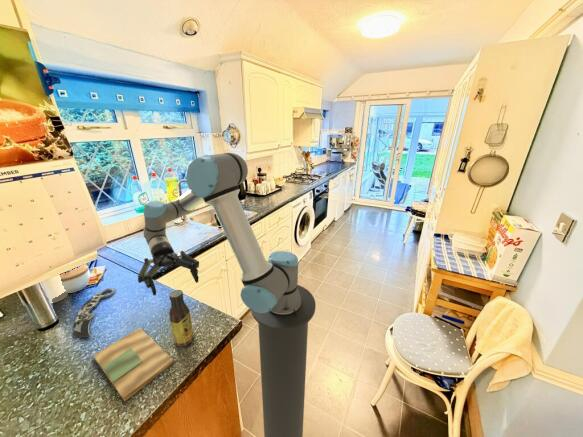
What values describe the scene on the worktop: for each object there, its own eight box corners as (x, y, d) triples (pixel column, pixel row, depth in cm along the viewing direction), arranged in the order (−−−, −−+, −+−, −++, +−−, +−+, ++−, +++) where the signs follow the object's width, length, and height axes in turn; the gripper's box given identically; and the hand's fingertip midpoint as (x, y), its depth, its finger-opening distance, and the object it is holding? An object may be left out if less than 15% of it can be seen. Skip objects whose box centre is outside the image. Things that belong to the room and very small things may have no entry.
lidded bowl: (78, 297, 102) (69, 275, 98) (49, 296, 102) (39, 275, 98) (100, 279, 114) (93, 260, 110) (74, 279, 114) (66, 259, 110)
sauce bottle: (190, 347, 80) (181, 300, 72) (171, 348, 79) (160, 301, 72) (196, 332, 86) (188, 287, 78) (179, 332, 85) (169, 287, 78)
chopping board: (173, 362, 75) (172, 358, 74) (124, 402, 64) (123, 397, 63) (140, 330, 86) (139, 326, 86) (94, 358, 75) (93, 355, 75)
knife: (90, 335, 83) (54, 341, 79) (91, 338, 83) (56, 344, 80) (118, 286, 108) (92, 289, 105) (119, 289, 108) (93, 292, 105)
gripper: (193, 250, 103) (211, 282, 90) (124, 264, 87) (134, 306, 74) (193, 236, 100) (213, 267, 86) (122, 248, 84) (132, 289, 71)
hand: (177, 285), depth 80 cm, fingers open, 13 cm apart
